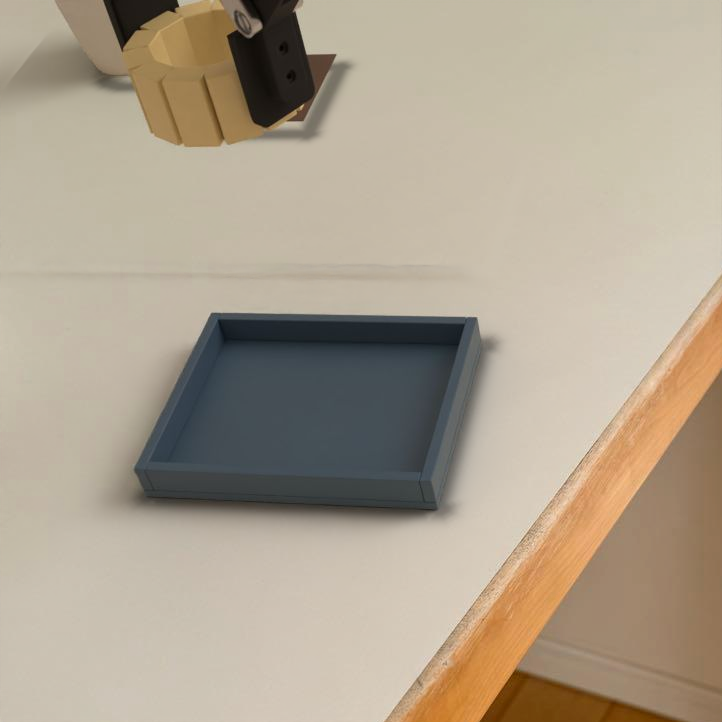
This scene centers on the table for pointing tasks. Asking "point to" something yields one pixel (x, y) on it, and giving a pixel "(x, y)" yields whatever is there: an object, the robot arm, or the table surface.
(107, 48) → the cup
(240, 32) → the robot arm
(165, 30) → the bracelet
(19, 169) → the table surface
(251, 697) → the table surface
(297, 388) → the tray
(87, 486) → the table surface
